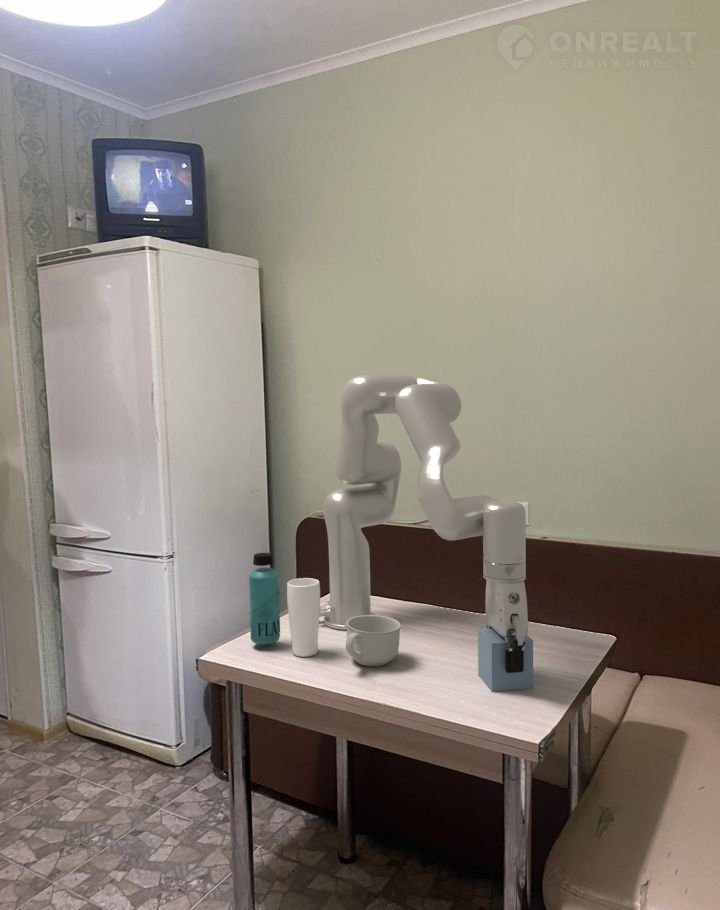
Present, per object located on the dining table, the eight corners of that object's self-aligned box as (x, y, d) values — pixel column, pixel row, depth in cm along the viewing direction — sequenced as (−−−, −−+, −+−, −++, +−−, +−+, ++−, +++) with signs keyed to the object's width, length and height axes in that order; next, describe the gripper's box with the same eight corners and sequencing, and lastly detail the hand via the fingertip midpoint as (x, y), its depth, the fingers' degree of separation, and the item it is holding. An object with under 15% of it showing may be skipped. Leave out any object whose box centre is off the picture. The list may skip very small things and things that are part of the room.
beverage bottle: (254, 653, 145) (251, 558, 144) (246, 643, 151) (243, 552, 150) (284, 648, 148) (282, 555, 146) (275, 638, 154) (273, 549, 152)
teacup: (373, 647, 147) (372, 610, 147) (412, 660, 140) (411, 621, 139) (324, 666, 138) (323, 626, 137) (362, 681, 130) (362, 639, 129)
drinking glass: (323, 647, 148) (322, 577, 147) (318, 659, 141) (316, 586, 140) (292, 647, 148) (290, 577, 147) (285, 658, 142) (283, 586, 141)
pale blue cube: (491, 691, 124) (491, 643, 123) (478, 674, 132) (478, 629, 131) (533, 688, 125) (533, 640, 124) (517, 671, 133) (517, 626, 132)
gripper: (543, 580, 119) (543, 678, 120) (507, 558, 136) (507, 644, 137) (501, 583, 117) (501, 682, 119) (469, 560, 135) (470, 646, 136)
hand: (504, 661), depth 128 cm, fingers open, 9 cm apart
